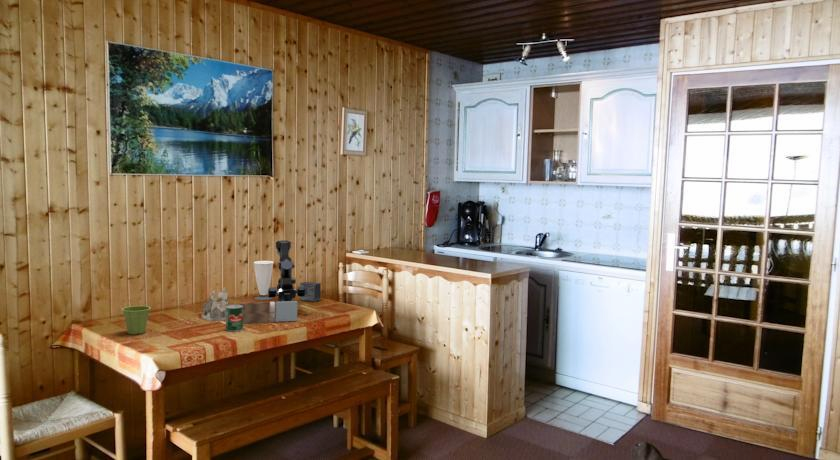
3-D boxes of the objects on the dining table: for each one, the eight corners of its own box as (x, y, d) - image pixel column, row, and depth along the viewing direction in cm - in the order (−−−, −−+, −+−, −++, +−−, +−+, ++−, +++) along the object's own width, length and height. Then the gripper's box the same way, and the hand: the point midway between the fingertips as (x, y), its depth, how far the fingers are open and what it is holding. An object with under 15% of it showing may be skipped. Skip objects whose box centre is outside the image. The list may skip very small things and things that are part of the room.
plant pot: (149, 335, 267) (148, 310, 266) (119, 336, 264) (119, 311, 263) (152, 328, 279) (152, 305, 278) (124, 330, 275) (124, 306, 274)
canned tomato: (233, 332, 275) (233, 308, 274) (221, 329, 279) (221, 306, 278) (246, 328, 281) (246, 305, 280) (235, 326, 286) (235, 303, 285)
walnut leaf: (274, 321, 297) (274, 301, 296) (275, 322, 294) (275, 302, 293) (239, 323, 292) (239, 302, 291) (239, 324, 290) (239, 303, 289)
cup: (250, 299, 348) (249, 262, 346) (259, 295, 359) (258, 260, 358) (268, 300, 346) (268, 263, 344) (277, 296, 357) (276, 261, 355)
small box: (321, 300, 349) (321, 282, 348) (314, 302, 343) (314, 284, 342) (306, 298, 353) (306, 281, 353) (299, 300, 348) (299, 282, 347)
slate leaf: (270, 322, 294) (269, 302, 293) (270, 321, 296) (269, 301, 295) (297, 321, 297) (297, 301, 296) (297, 319, 299) (297, 300, 298)
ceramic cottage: (208, 312, 312) (207, 284, 310) (237, 315, 310) (237, 287, 307) (192, 321, 297) (191, 292, 295) (222, 324, 295) (222, 295, 292)
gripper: (268, 272, 305) (269, 297, 295) (305, 271, 310) (307, 296, 300) (267, 284, 313) (268, 309, 303) (304, 283, 318) (305, 308, 309)
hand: (287, 305), depth 304 cm, fingers closed
